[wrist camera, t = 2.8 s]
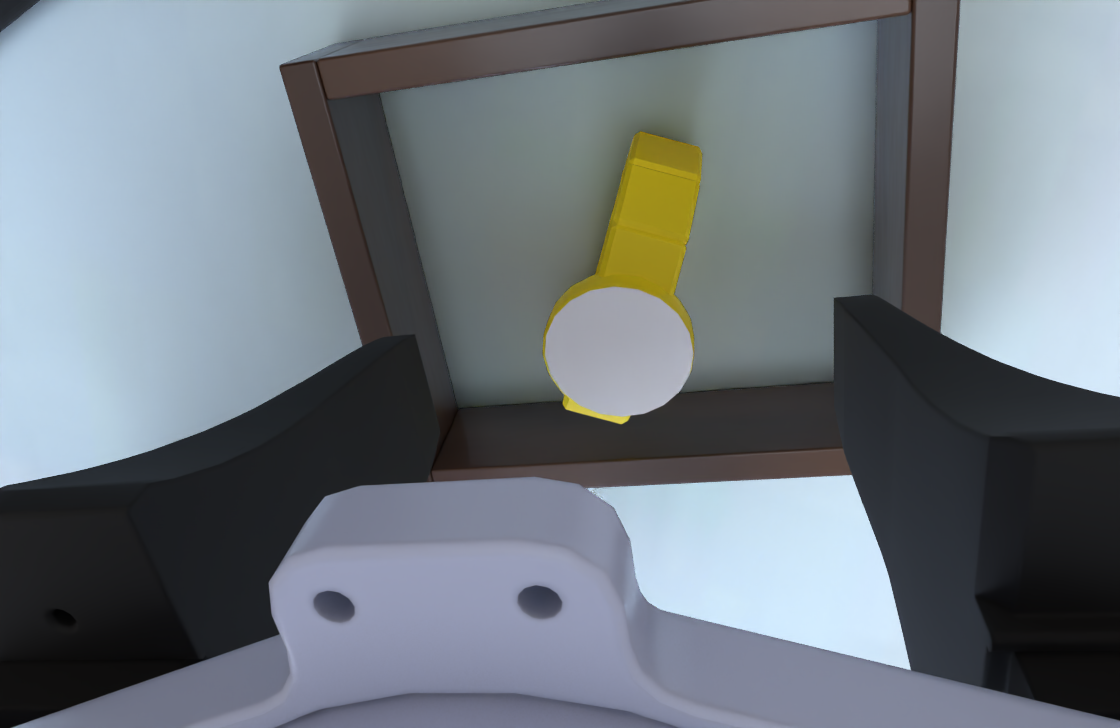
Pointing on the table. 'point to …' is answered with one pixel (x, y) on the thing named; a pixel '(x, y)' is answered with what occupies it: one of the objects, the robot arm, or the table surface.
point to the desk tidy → (591, 35)
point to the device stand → (13, 10)
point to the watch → (631, 293)
